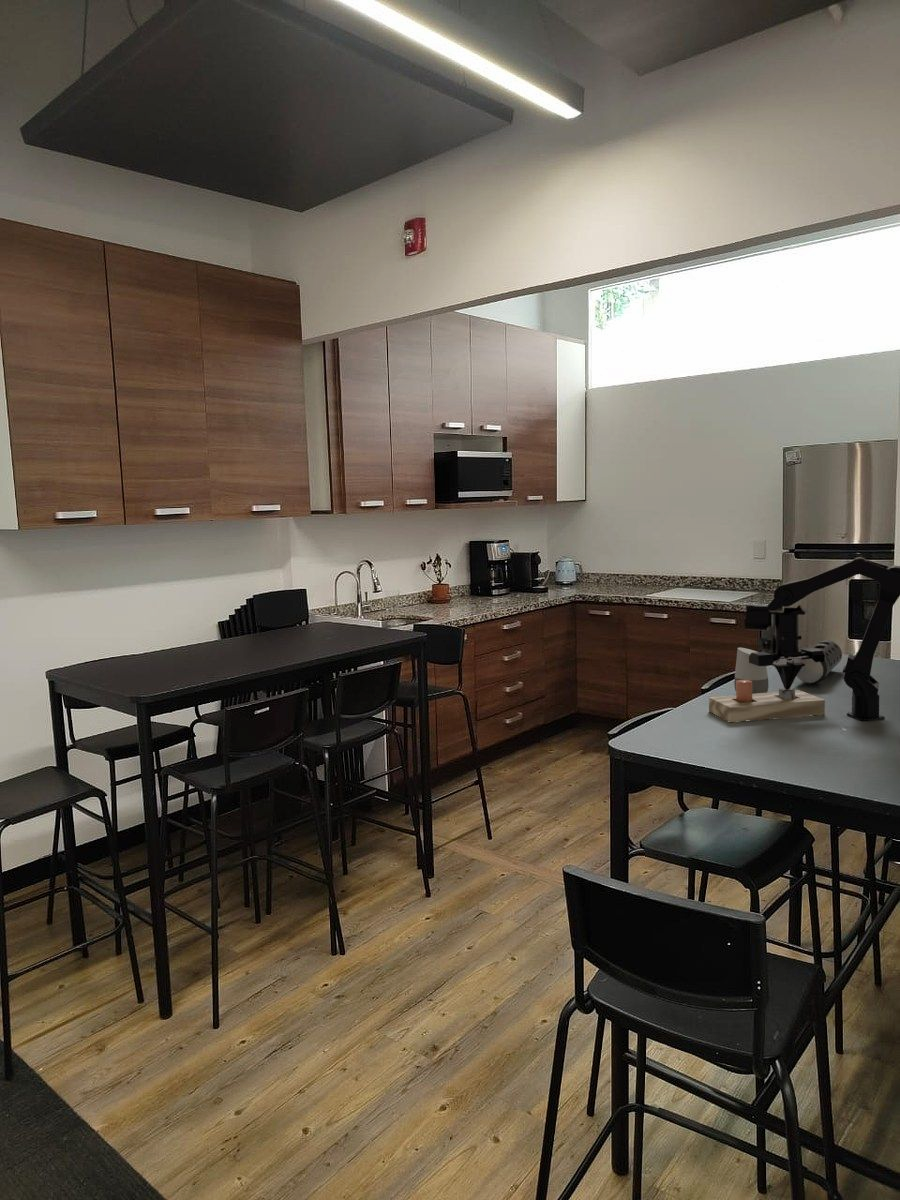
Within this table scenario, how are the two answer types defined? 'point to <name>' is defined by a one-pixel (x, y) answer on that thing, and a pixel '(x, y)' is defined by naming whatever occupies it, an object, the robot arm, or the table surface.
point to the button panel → (766, 706)
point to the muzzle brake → (820, 663)
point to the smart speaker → (750, 672)
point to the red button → (743, 691)
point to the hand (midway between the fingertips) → (787, 689)
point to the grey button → (786, 693)
